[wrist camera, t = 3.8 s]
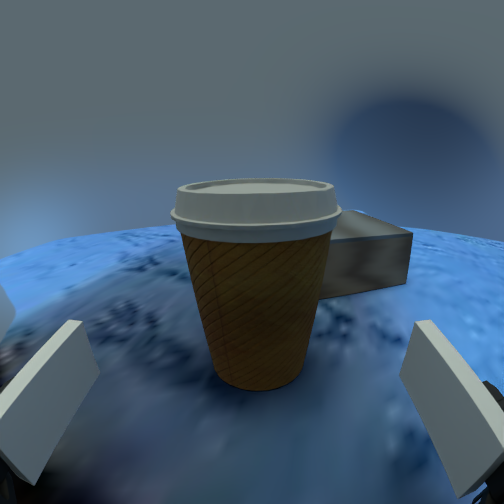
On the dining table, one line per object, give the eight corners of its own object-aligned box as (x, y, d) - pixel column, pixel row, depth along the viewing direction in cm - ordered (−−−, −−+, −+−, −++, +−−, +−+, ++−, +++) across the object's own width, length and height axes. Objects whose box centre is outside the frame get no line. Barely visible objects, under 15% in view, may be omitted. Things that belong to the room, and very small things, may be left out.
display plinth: (350, 249, 43) (353, 210, 41) (405, 283, 31) (413, 232, 29) (267, 258, 40) (267, 214, 39) (304, 301, 28) (307, 241, 26)
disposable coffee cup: (274, 314, 26) (274, 175, 23) (354, 368, 19) (377, 188, 15) (171, 347, 22) (150, 186, 18) (231, 433, 14) (212, 203, 10)
